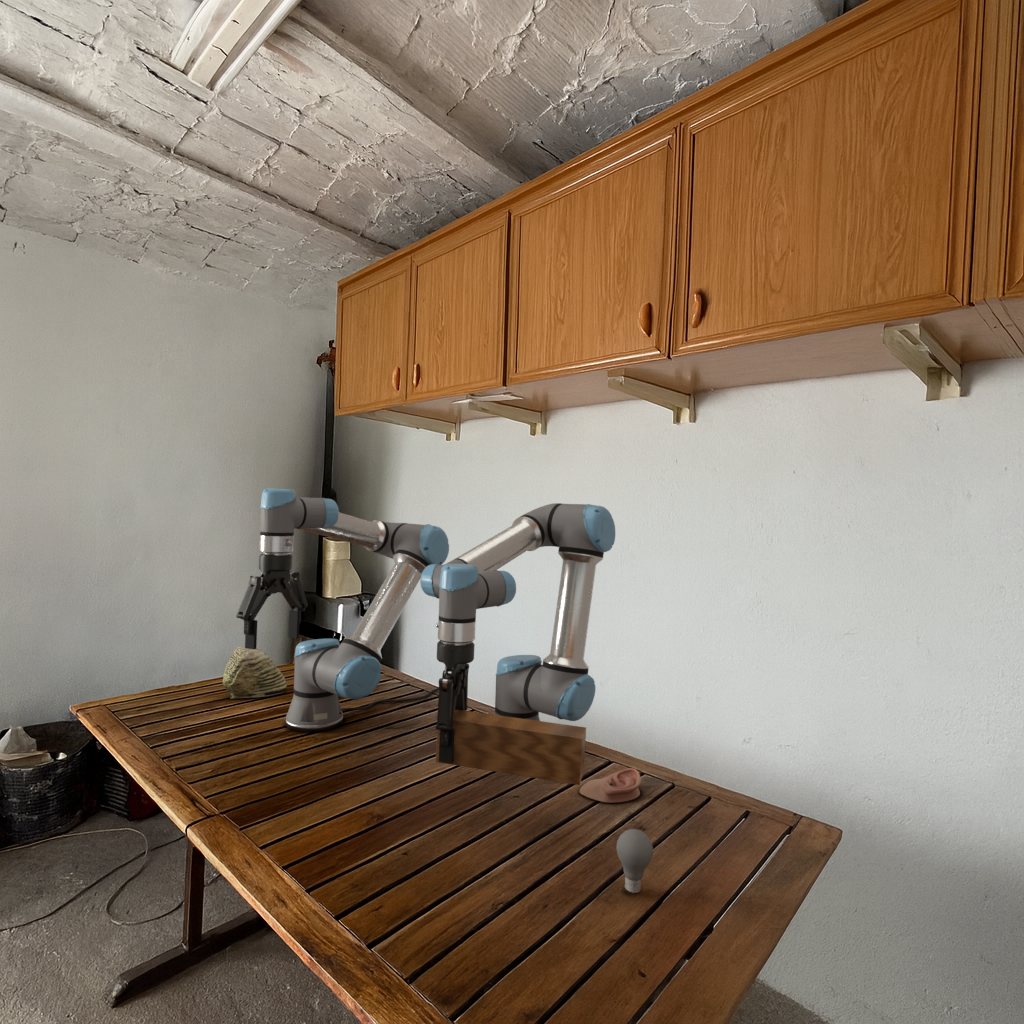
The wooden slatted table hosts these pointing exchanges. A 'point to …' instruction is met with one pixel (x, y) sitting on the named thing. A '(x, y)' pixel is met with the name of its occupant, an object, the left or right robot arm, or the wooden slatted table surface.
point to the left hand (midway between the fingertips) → (272, 643)
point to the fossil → (252, 674)
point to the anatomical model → (614, 787)
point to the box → (518, 746)
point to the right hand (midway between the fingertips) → (450, 754)
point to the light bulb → (634, 857)
